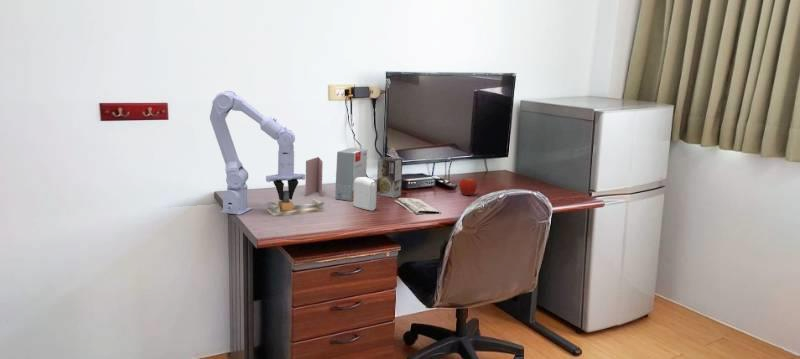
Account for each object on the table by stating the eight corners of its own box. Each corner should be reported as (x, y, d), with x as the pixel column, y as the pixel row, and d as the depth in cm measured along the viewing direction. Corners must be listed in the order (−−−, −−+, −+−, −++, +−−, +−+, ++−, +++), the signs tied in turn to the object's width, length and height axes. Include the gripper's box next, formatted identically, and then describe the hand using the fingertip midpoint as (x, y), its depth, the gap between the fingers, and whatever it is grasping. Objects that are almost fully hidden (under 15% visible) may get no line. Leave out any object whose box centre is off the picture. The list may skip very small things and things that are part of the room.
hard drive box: (351, 201, 259) (353, 153, 255) (334, 199, 261) (335, 151, 257) (365, 194, 273) (367, 148, 269) (349, 192, 276) (351, 146, 272)
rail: (273, 216, 231) (273, 206, 230) (267, 211, 237) (267, 202, 236) (324, 211, 241) (324, 202, 241) (316, 207, 247) (316, 198, 247)
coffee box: (401, 195, 274) (403, 158, 271) (393, 198, 269) (395, 160, 265) (383, 192, 278) (385, 156, 275) (375, 194, 273) (377, 157, 270)
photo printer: (351, 206, 251) (352, 175, 249) (359, 204, 254) (360, 174, 252) (369, 211, 244) (370, 180, 242) (377, 209, 248) (378, 179, 245)
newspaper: (393, 202, 263) (394, 196, 263) (420, 204, 267) (421, 199, 267) (412, 216, 242) (413, 210, 242) (441, 218, 246) (442, 212, 246)
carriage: (282, 210, 234) (282, 192, 233) (278, 208, 238) (278, 190, 236) (292, 210, 236) (292, 192, 235) (288, 207, 240) (288, 189, 238)
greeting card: (315, 190, 275) (316, 156, 272) (331, 192, 273) (332, 158, 270) (303, 196, 264) (304, 160, 261) (319, 198, 262) (320, 162, 259)
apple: (472, 192, 286) (473, 176, 285) (479, 197, 279) (480, 179, 277) (456, 193, 284) (457, 176, 283) (462, 197, 277) (463, 179, 275)
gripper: (270, 166, 226) (270, 203, 229) (308, 164, 234) (307, 200, 236) (264, 163, 232) (264, 199, 235) (301, 161, 240) (300, 196, 242)
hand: (285, 199), depth 236 cm, fingers open, 3 cm apart
